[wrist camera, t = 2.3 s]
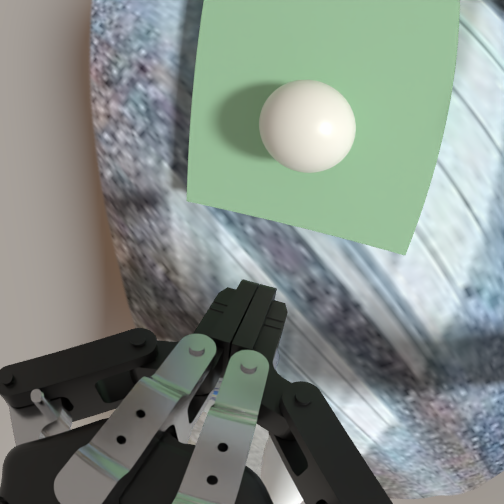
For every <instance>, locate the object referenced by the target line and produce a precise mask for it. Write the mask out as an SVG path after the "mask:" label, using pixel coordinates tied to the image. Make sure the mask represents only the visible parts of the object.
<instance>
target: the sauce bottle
mask: <svg viewBox="0 0 504 504" xmlns="http://www.w3.org/2000/svg"><path fill="white" fill-rule="evenodd" d="M261 480H262V482H263V483H264V485H265V486H266V488H267V490H268V493H269V495H270V497H271V499H272V501H273V504H300V503H301V502H302V501H303V498H302V497H301V495H300V493H299V491H298V489H297V487H296V486H295V484H294V482H293V480H292V478H291V476H290V474H289V473H288V471H287V469H286V467H285V465H284V463H283V461H282V459H281V457H280V455H279V453H278V451H277V449H276V447H275V445H274V443H273V441H272V439H271V437H270V436H269V438H268V440H267V443H266V446H265V449H264V452H263V457H262V463H261Z"/></svg>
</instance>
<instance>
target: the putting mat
mask: <svg viewBox="0 0 504 504" xmlns="http://www.w3.org/2000/svg"><path fill="white" fill-rule="evenodd" d="M459 9H460V0H204V2H203V9H202V16H201V23H200V30H199V38H198V46H197V55H196V64H195V73H194V84H193V95H192V107H191V120H190V135H189V153H188V175H187V201H188V202H193V203H198V204H202V205H207V206H211V207H216V208H220V209H225V210H229V211H234V212H238V213H242V214H247V215H251V216H255V217H259V218H264V219H268V220H272V221H276V222H280V223H284V224H288V225H292V226H297V227H301V228H305V229H309V230H312V231H316V232H320V233H324V234H328V235H332V236H336V237H340V238H343V239H347V240H351V241H355V242H358V243H362V244H366V245H370V246H373V247H377V248H380V249H384V250H388V251H391V252H395V253H398V254H402V255H405V254H406V252H407V249H408V247H409V244H410V242H411V239H412V236H413V234H414V231H415V228H416V225H417V223H418V220H419V217H420V214H421V211H422V208H423V205H424V202H425V199H426V196H427V193H428V189H429V186H430V183H431V179H432V176H433V173H434V169H435V165H436V162H437V158H438V154H439V150H440V146H441V142H442V138H443V133H444V129H445V124H446V120H447V115H448V109H449V104H450V99H451V93H452V86H453V80H454V73H455V65H456V56H457V45H458V32H459ZM296 80H315V81H319V82H323V83H325V84H328V85H329V86H331V87H333V88H334V89H336V90H337V91H338V92H339V93H341V94H342V95H343V96H344V98H345V99H346V100H347V102H348V103H349V105H350V106H351V109H352V111H353V114H354V117H355V123H356V133H355V139H354V142H353V145H352V147H351V149H350V151H349V152H348V154H347V155H346V156H345V158H344V159H343V160H342V161H341V162H339V163H338V164H337V165H335V166H334V167H332V168H330V169H327V170H324V171H321V172H315V173H303V172H298V171H294V170H291V169H289V168H287V167H285V166H283V165H281V164H280V163H279V162H277V161H276V160H275V159H274V158H273V157H272V156H271V155H270V154H269V152H268V151H267V149H266V148H265V146H264V144H263V142H262V139H261V136H260V131H259V118H260V113H261V110H262V107H263V105H264V103H265V101H266V100H267V99H268V97H269V96H270V95H271V94H272V93H273V92H274V91H275V90H276V89H277V88H279V87H281V86H282V85H284V84H286V83H289V82H292V81H296Z"/></svg>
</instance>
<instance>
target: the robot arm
mask: <svg viewBox="0 0 504 504" xmlns="http://www.w3.org/2000/svg"><path fill="white" fill-rule="evenodd" d="M276 290H277V289H276V288H273V287H269V286H265V285H262V284H260V285H259V284H258V283H254V282H250V281H247V280H242V281H241V282H240V284H239V286H238V288H237V289H236V290H235V289H232V288H228V287H227V288H226V289H224V290H223V291H221V292H220V293H218V295H217V297H216V298H215V300H214V302H213V303H212V305H211V306H210V308H209V309H208V311H207V313H206V314H205V316H204V317H203V319H202V321H201V322H200V324H199V325H198V327H197V329H196V330H195V332H194V333H193V334H190V335H187V336H185V337H184V338H182V339H181V340H180V341H179V342H167V341H157V339H156V336H155V335H154V334H153V333H152V332H151V331H149V330H147V329H143V328H135V329H131V330H128V331H125V332H122V333H119V334H116V335H112V336H109V337H106V338H103V339H100V340H96V341H93V342H90V343H86V344H83V345H79V346H76V347H73V348H69V349H66V350H62V351H59V352H56V353H52V354H48V355H45V356H41V357H38V358H34V359H30V360H27V361H23V362H19V363H15V364H12V365H8V366H5V367H3V368H2V369H1V370H0V395H1V396H2V397H3V398H4V400H5V401H6V403H7V404H8V406H9V409H10V416H11V422H12V427H13V433H14V438H15V443H16V447H14V448H13V449H12V450H11V451H10V452H9V453H8V454H7V456H6V458H5V460H4V464H3V471H2V483H1V487H0V504H273V501H272V499H271V497H270V495H269V493H268V490H267V488H266V486H265V485H264V483H263V482H262V480H261V479H260V478H259V477H258V475H257V474H256V473H255V472H253V471H252V470H251V469H250V468H248V467H247V466H245V465H246V461H247V458H248V454H249V450H250V446H251V442H252V439H253V435H254V431H255V427H256V423H257V424H258V425H260V426H261V427H263V428H265V429H266V430H268V431H269V435H270V437H271V439H272V441H273V443H274V445H275V447H276V449H277V451H278V453H279V455H280V457H281V459H282V461H283V463H284V465H285V467H286V469H287V471H288V473H289V474H290V476H291V478H292V480H293V482H294V484H295V486H296V487H297V489H298V491H299V493H300V495H301V497H302V498H303V500H304V502H305V504H393V503H392V502H391V500H390V499H389V497H388V496H387V494H386V493H385V491H384V489H383V488H382V486H381V485H380V483H379V482H378V480H377V479H376V477H375V476H374V474H373V473H372V471H371V470H370V468H369V467H368V465H367V463H366V462H365V460H364V459H363V457H362V456H361V454H360V453H359V451H358V450H357V448H356V446H355V445H354V443H353V442H352V440H351V439H350V437H349V436H348V434H347V432H346V431H345V429H344V428H343V426H342V425H341V423H340V421H339V420H338V418H337V417H336V415H335V414H334V412H333V410H332V409H331V407H330V406H329V404H328V403H327V401H326V399H325V398H324V396H323V395H322V393H321V392H320V390H319V389H318V388H317V387H316V386H314V385H313V384H311V383H308V382H301V381H300V382H294V383H290V382H289V381H287V380H285V379H284V378H282V377H281V376H280V375H279V374H278V373H277V372H276V370H275V369H274V366H273V360H274V357H275V353H276V350H277V347H278V344H279V341H280V338H281V334H282V331H283V327H284V323H285V320H286V316H287V309H286V305H285V303H282V302H278V301H275V300H274V299H275V295H276ZM219 378H223V380H222V383H221V386H220V389H219V391H218V394H217V397H216V400H215V402H214V404H213V405H212V406H211V407H210V409H209V411H208V414H207V417H206V419H205V422H204V425H203V427H202V430H201V433H200V435H199V438H198V441H197V443H196V445H191V444H187V442H188V440H189V438H190V435H191V431H192V429H193V427H194V425H195V423H196V422H197V420H198V418H199V417H200V415H201V413H202V412H203V410H204V408H205V407H206V405H207V403H208V401H209V400H210V398H211V396H212V395H213V393H214V389H215V386H216V384H217V382H218V380H219ZM116 408H117V409H116ZM112 409H116V410H115V411H114V412H113V414H112V415H111V416H110V417H109V418H107V419H102V420H99V421H96V422H93V423H90V424H87V425H84V426H82V427H78V428H75V429H72V430H70V427H71V425H72V422H74V421H77V420H80V419H84V418H87V417H90V416H94V415H97V414H100V413H103V412H106V411H109V410H112Z"/></svg>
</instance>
